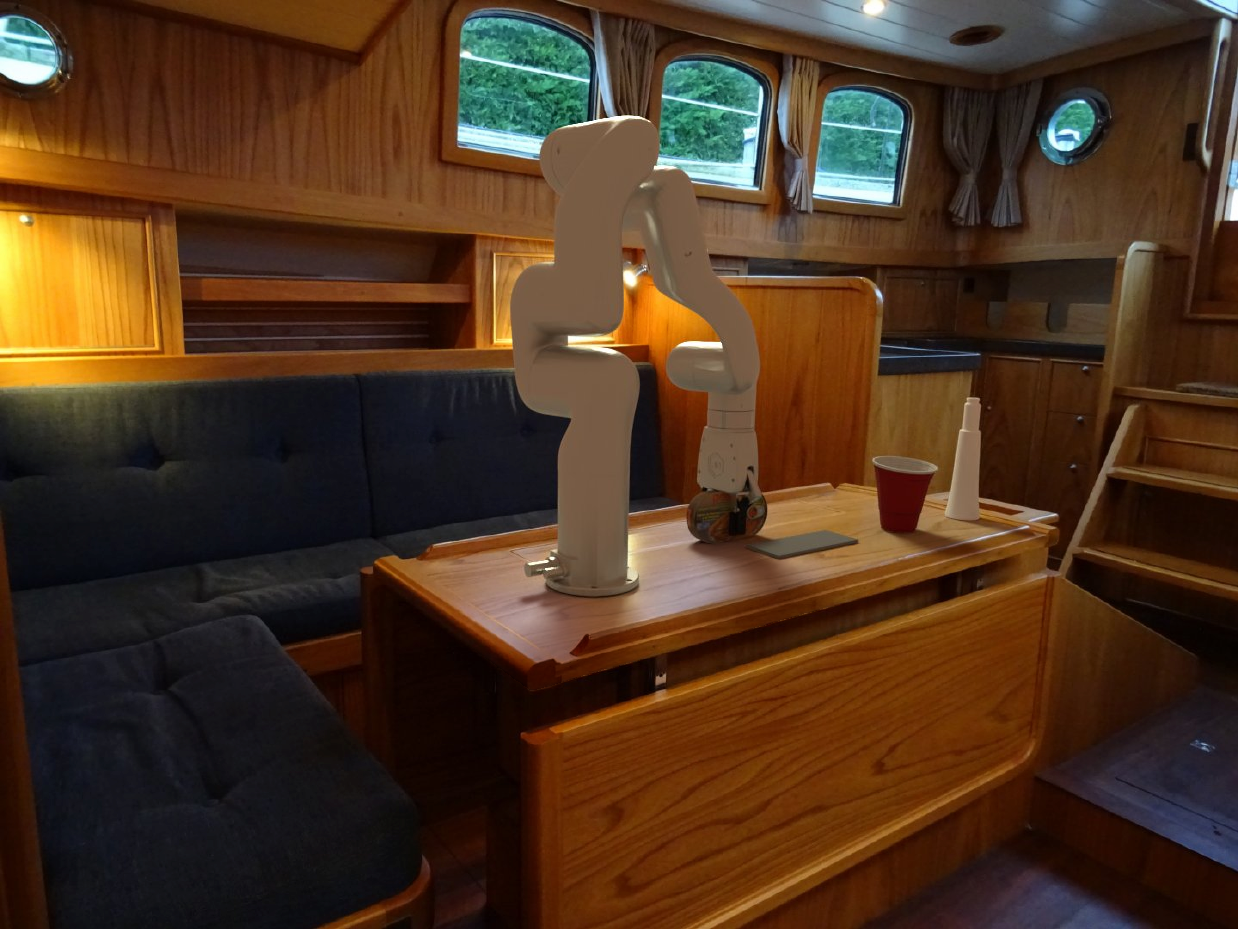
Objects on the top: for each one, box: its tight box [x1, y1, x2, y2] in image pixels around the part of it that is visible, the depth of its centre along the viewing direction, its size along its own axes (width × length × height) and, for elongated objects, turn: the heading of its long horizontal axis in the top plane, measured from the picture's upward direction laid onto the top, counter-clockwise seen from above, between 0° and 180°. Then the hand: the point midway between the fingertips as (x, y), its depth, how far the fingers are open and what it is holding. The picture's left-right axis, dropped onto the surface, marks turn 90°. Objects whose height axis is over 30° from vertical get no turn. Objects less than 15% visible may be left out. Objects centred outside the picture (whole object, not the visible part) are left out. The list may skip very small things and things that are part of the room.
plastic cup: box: [871, 455, 939, 534], centre depth 146 cm, size 11×11×12 cm
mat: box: [745, 529, 859, 560], centre depth 136 cm, size 18×7×1 cm, turn 124°
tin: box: [686, 490, 768, 545], centre depth 139 cm, size 15×3×8 cm, turn 120°
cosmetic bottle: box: [944, 397, 982, 522], centre depth 155 cm, size 6×6×22 cm
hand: (726, 530), depth 139 cm, fingers open, 4 cm apart
